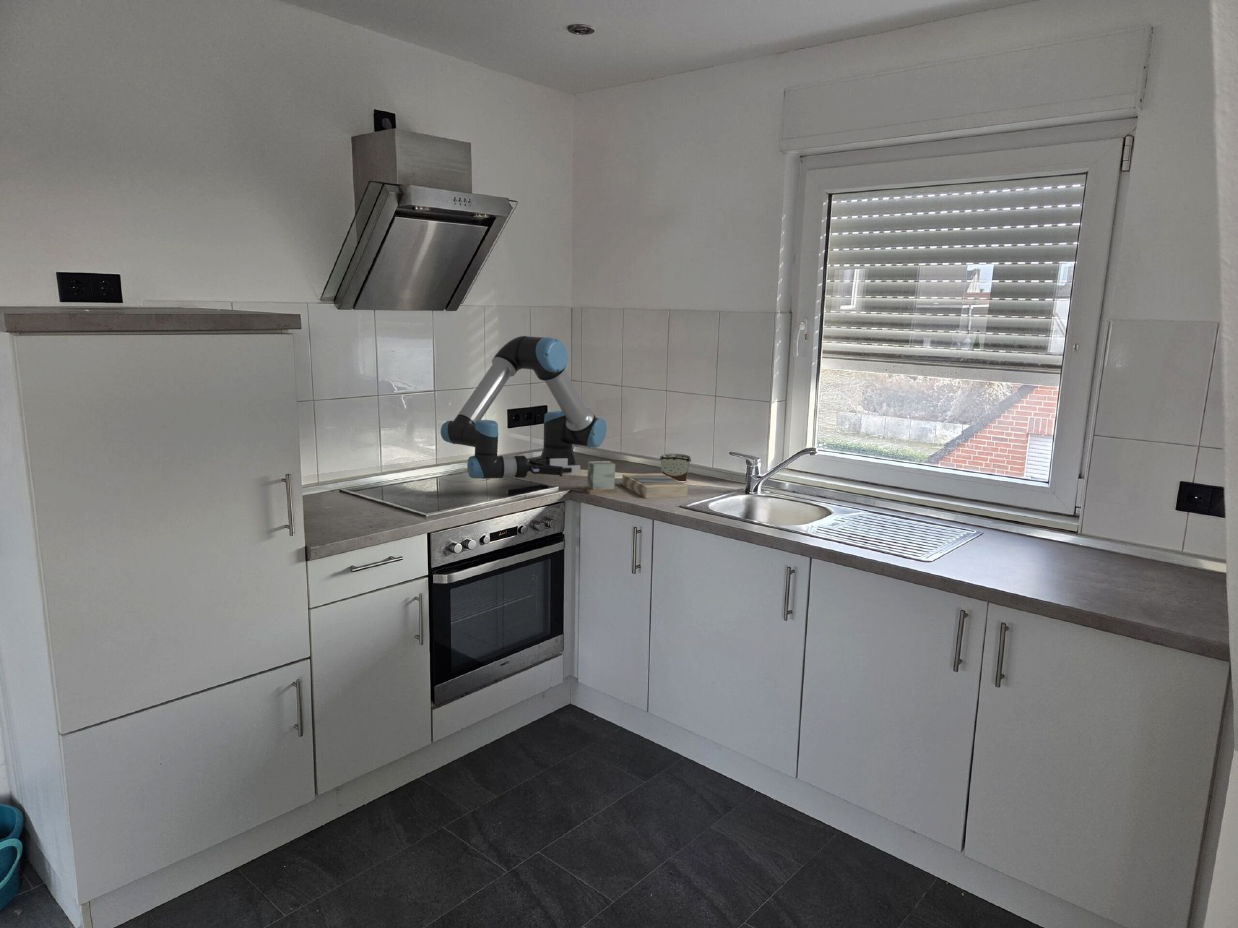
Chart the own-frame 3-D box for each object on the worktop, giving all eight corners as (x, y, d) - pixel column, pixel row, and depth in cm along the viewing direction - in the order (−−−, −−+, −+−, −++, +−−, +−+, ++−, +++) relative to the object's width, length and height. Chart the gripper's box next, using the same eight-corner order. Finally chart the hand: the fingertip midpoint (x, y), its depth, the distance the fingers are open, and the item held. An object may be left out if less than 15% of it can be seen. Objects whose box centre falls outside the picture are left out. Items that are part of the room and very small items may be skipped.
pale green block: (584, 490, 290) (585, 461, 288) (610, 489, 294) (611, 460, 292) (590, 494, 285) (591, 464, 283) (616, 493, 289) (617, 464, 287)
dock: (622, 484, 302) (622, 473, 301) (661, 483, 308) (661, 472, 307) (645, 498, 282) (646, 486, 281) (687, 496, 288) (687, 485, 288)
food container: (690, 479, 318) (691, 454, 316) (690, 482, 312) (691, 457, 310) (658, 477, 319) (660, 452, 318) (658, 480, 313) (659, 455, 311)
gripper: (504, 470, 287) (561, 469, 295) (523, 485, 265) (584, 483, 273) (505, 449, 286) (562, 449, 294) (524, 462, 263) (586, 461, 271)
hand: (573, 465), depth 284 cm, fingers open, 13 cm apart
